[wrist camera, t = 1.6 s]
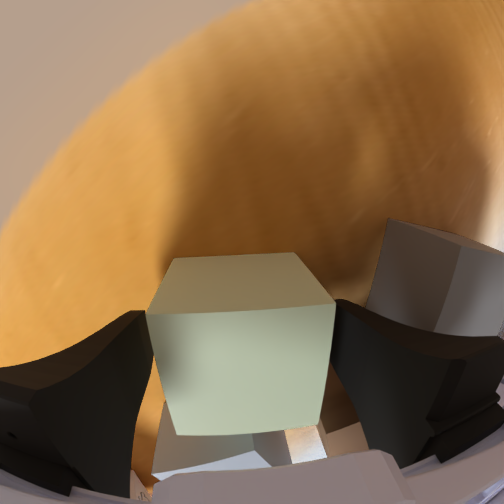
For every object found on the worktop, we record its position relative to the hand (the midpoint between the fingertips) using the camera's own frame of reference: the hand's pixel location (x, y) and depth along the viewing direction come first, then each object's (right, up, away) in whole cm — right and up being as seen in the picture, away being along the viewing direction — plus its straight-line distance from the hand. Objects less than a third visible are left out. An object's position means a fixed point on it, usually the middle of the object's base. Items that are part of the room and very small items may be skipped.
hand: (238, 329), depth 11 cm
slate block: (-1, -6, +4) cm, 7 cm away
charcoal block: (+9, +2, +2) cm, 9 cm away
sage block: (0, 0, +2) cm, 2 cm away
